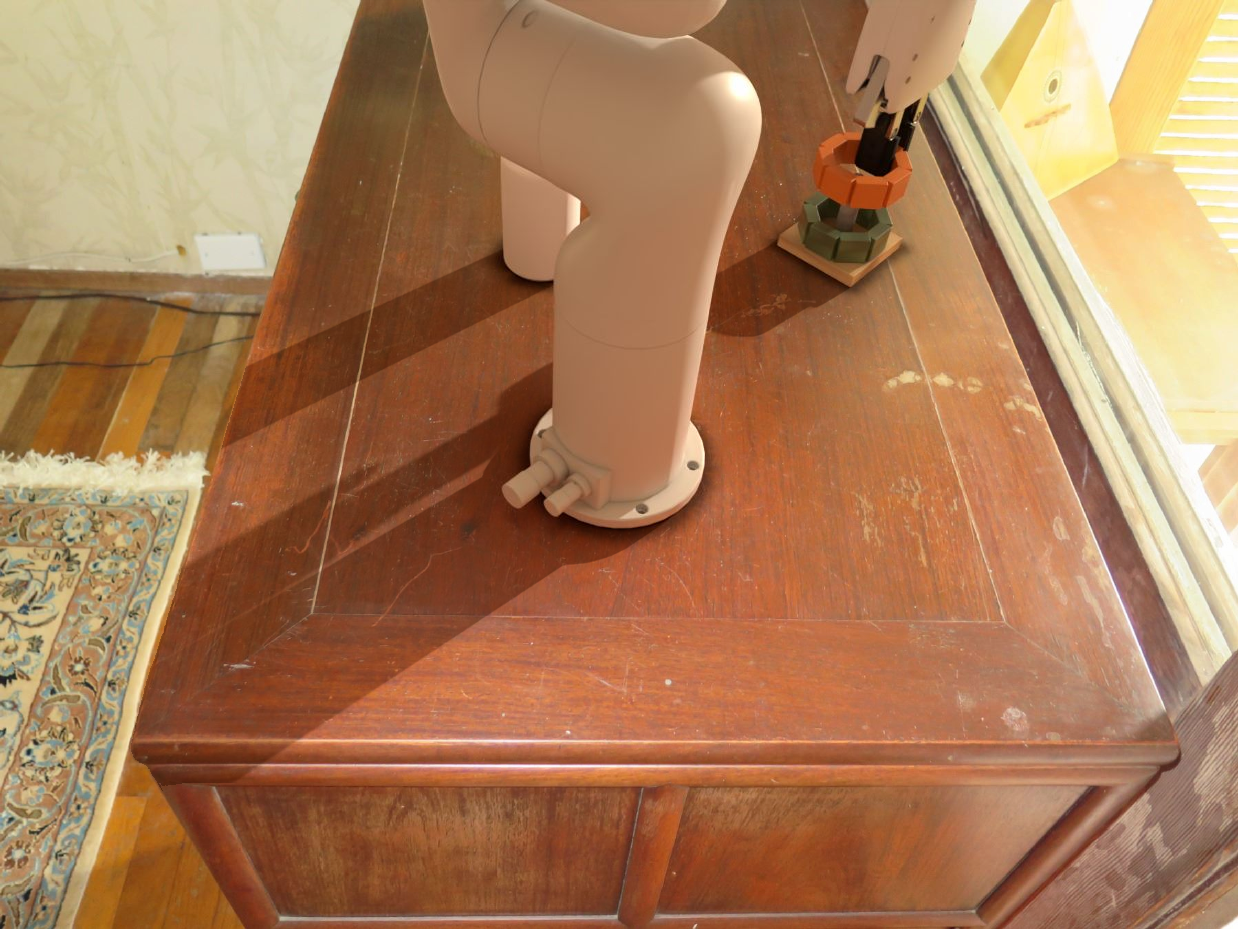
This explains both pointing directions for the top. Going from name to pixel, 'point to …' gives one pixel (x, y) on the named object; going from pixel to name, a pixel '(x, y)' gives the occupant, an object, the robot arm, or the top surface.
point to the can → (534, 221)
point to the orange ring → (858, 188)
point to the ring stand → (840, 238)
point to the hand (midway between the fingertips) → (878, 165)
